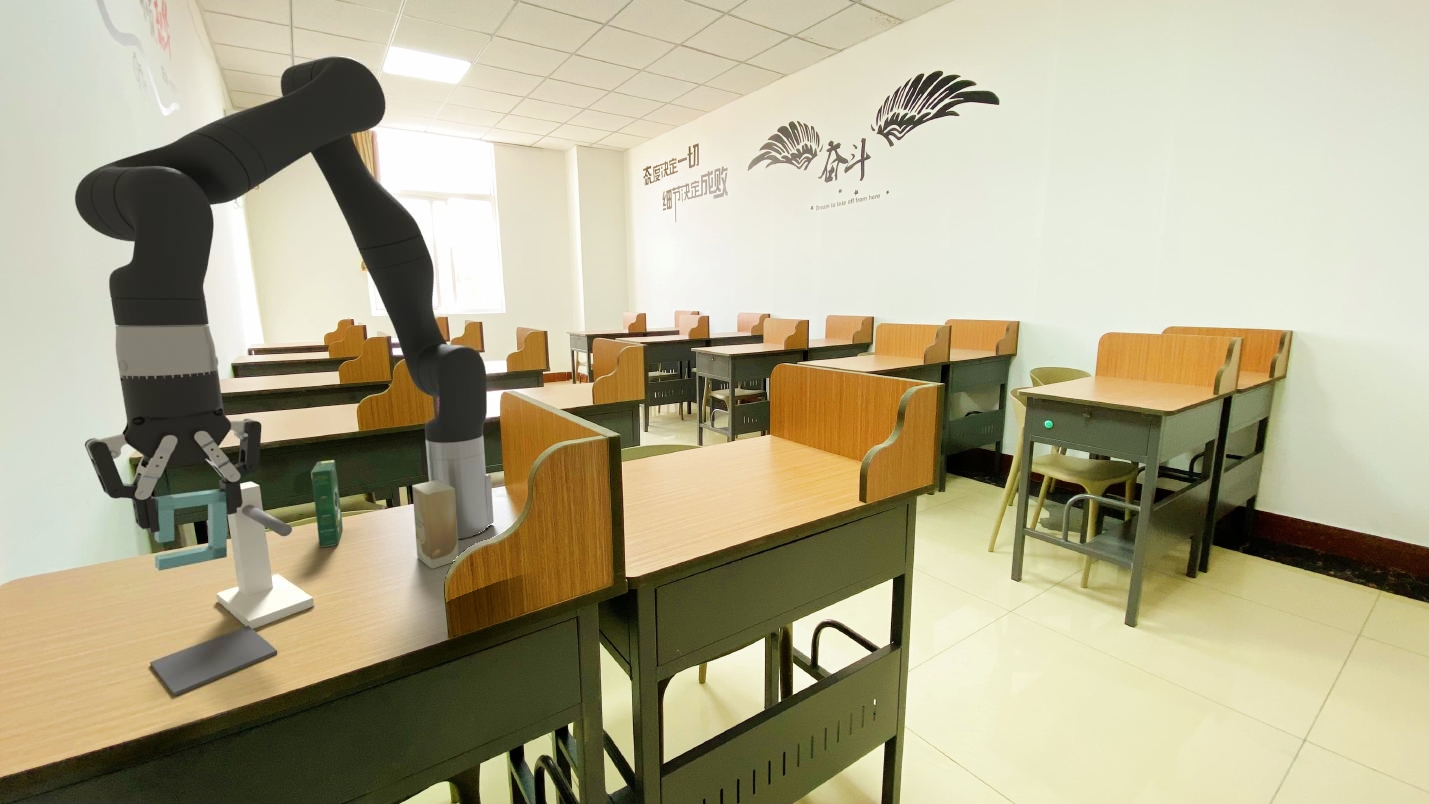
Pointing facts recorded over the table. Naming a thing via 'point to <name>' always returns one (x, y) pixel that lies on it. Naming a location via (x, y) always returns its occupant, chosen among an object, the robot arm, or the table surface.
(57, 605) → the table surface
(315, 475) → the coffee box
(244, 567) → the stand
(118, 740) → the table surface
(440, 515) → the skincare box
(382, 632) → the table surface
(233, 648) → the pad
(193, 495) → the c link
